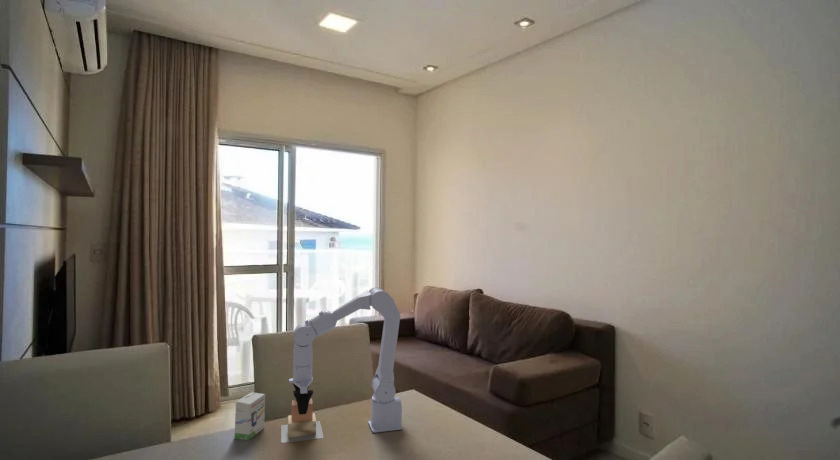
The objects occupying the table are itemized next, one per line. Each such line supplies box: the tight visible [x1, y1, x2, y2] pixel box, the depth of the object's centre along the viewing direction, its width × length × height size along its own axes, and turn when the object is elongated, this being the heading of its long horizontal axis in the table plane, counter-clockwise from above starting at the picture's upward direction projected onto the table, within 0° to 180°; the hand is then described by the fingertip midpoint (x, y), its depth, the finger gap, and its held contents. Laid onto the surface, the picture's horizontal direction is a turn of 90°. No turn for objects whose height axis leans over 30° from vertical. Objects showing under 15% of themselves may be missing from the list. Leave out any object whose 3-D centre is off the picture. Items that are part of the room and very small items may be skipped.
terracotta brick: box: [291, 398, 314, 422], centre depth 136 cm, size 6×4×5 cm, turn 107°
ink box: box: [233, 391, 266, 441], centre depth 134 cm, size 9×5×12 cm, turn 168°
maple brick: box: [287, 412, 317, 437], centre depth 136 cm, size 8×6×4 cm
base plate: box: [280, 420, 324, 444], centre depth 136 cm, size 12×12×1 cm
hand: (302, 408), depth 136 cm, fingers open, 7 cm apart
